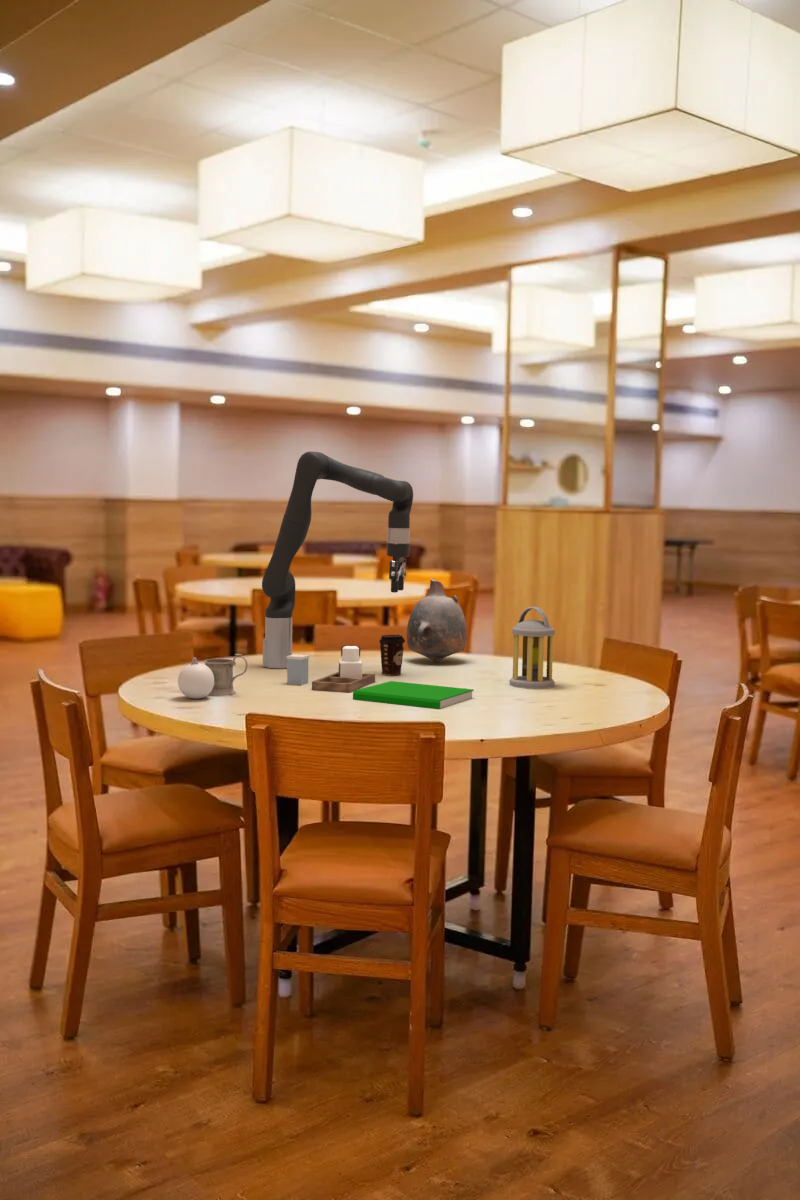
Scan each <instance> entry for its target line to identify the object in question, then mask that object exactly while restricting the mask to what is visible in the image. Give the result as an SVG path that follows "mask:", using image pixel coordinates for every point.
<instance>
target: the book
mask: <svg viewBox="0 0 800 1200" xmlns="http://www.w3.org/2000/svg"><path fill="white" fill-rule="evenodd" d="M473 691H474V689H473V688H463V687H454V686H453V687H452V686H442V685H436V684H435V685H434V684H424V683H423V684H422V683H413V682H405V681H404V682H403V681H394V680H391V681H386V682H383V683H378V684H375V685H370V686H365V687H362V688H360V689H357V690H354V691H353V693H352V699H353V700H356V701H364V702H365V701H366V702H374V703H384V704H391V705H400V706H401V705H402V706H409V707H410V706H411V707H418V708H427V709H434V710H435V709H436V710H440V709H442V708H445V707H448V706H451V705H454V704H455V705H456V704H458V703H461V702H464V701H467V700H470V699H472V698H473Z"/></svg>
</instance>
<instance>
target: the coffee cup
mask: <svg viewBox="0 0 800 1200" xmlns="http://www.w3.org/2000/svg"><path fill="white" fill-rule="evenodd" d="M378 642H379V644H380V660H381V661H380V663H381V675H383V676H399V675H401V673H402V666H403V658H404V648H405V647H404V646H403V645H404V643H405V642H406V640H405V638H404V637H403V635H402V634H383V635H381V638H380V639H379V641H378Z"/></svg>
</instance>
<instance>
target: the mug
mask: <svg viewBox="0 0 800 1200" xmlns="http://www.w3.org/2000/svg"><path fill="white" fill-rule="evenodd" d="M234 655H235V656H233V659H230V658H229V659H228V658H210V659H205V660H204V665H206V666H208V667H209V668H210V669H211V671H212V673H213V675H214V686H213V689H212V691H211V692H210V693H209V694H208V695H207V696H213V697H215V696H216V697H219V696H221V697H223V696H233V695H235V694H237V692H236V691H235V689H234V685H233V684H234V681H235V679H236V678H237V677H240V676H243V675H244V674H245V673H246V672H247V671H248V665H249V663H248V660H247V658H245V657H244V655H243V654H242V653H235V654H234ZM237 658H241V659H243V660H244V662H245V668H244V670H243V672H240V673H239V674H236V675H235V676H234V666H236V664H237V663H236V659H237Z"/></svg>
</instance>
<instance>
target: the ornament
mask: <svg viewBox="0 0 800 1200" xmlns="http://www.w3.org/2000/svg"><path fill="white" fill-rule="evenodd" d="M177 685H178V690H179V691H180V692H181V694H182V695H184V696H185V697H186V698H189V699H194V700H196V699H197V700H198V699H202V698H205V697H207V696H209V695H208V694H209V693H210V692H211V691H212V689H213V686H214V675H213V673H212V671H211V669H210V668H209V667H208V666H206V665H205V663H200V662H199V661H198V659H197V656H196V657H195V656H193V657H192V660H191V662H190V663H189V664H187V665H185V666H184V667H182V668H181V669H180V671H179V674H178V676H177Z"/></svg>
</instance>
